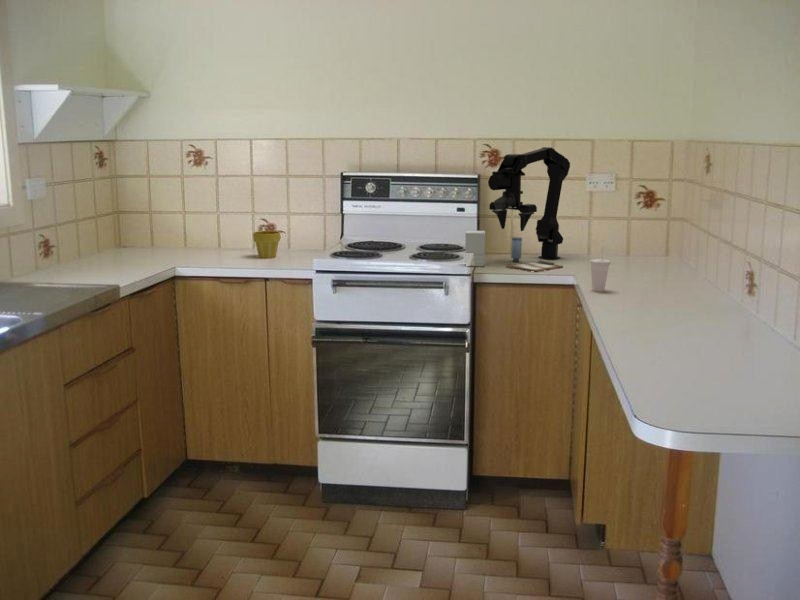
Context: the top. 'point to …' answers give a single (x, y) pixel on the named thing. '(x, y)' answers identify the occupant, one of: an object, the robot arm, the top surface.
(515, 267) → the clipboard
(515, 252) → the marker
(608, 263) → the smoothie
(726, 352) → the top surface
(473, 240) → the supplement box
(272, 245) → the plant pot
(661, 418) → the top surface
